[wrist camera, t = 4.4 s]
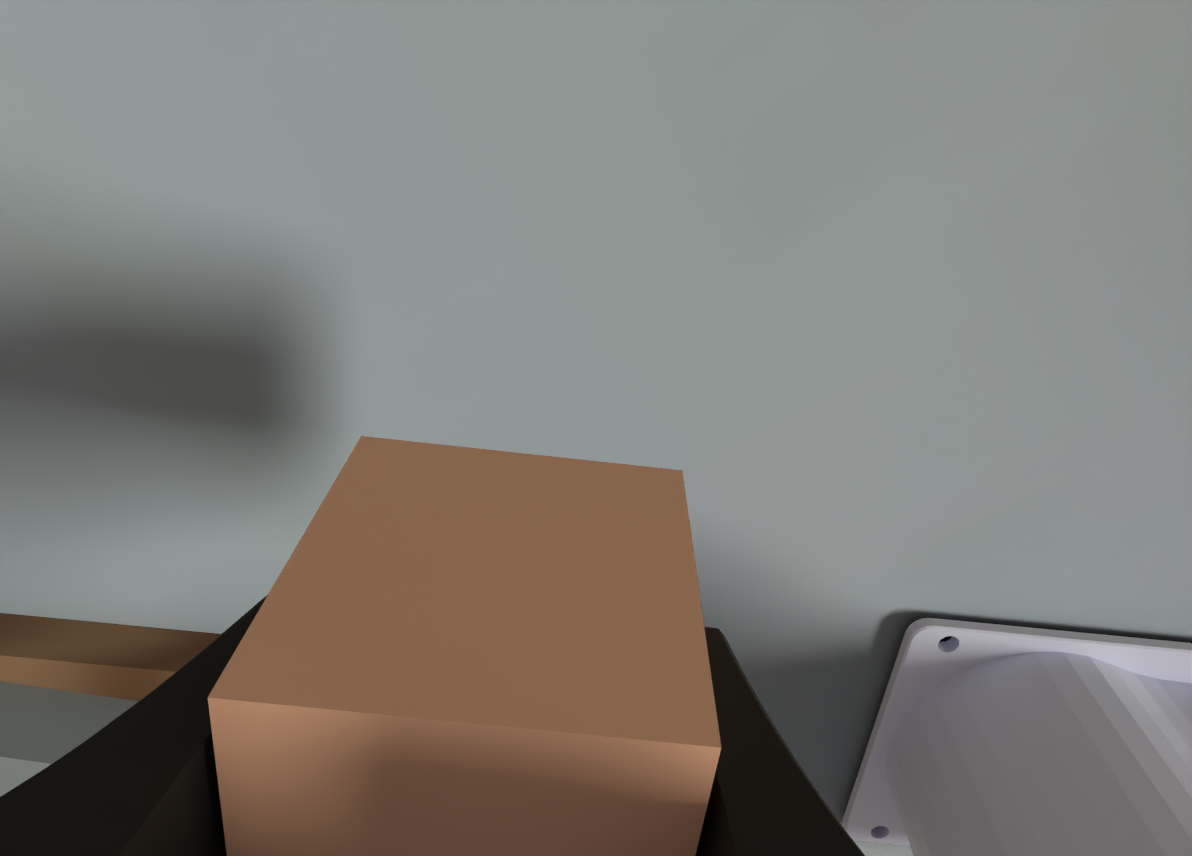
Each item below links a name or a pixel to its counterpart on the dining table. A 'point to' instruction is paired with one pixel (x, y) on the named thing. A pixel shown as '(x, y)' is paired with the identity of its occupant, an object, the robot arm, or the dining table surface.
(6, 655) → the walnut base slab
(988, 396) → the dining table surface
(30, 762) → the slate top slab
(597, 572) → the terracotta block
